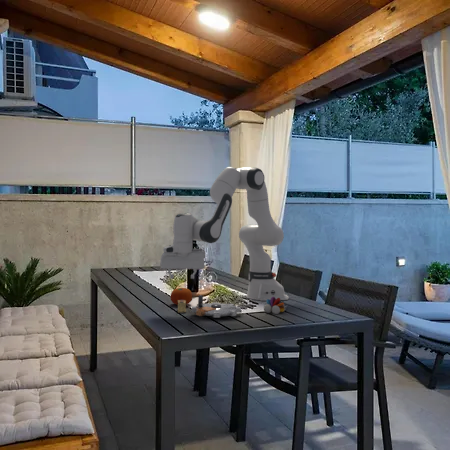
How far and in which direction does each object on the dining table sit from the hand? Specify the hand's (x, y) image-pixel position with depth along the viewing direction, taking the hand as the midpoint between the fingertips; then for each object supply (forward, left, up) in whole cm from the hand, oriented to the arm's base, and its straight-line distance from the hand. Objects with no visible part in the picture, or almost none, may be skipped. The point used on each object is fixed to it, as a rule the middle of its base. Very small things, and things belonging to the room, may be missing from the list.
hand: (182, 278), depth 219 cm
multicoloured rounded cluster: (-43, +4, -15) cm, 45 cm away
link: (0, 0, -15) cm, 15 cm away
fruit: (0, -14, -15) cm, 21 cm away
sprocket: (-15, +9, -13) cm, 22 cm away
